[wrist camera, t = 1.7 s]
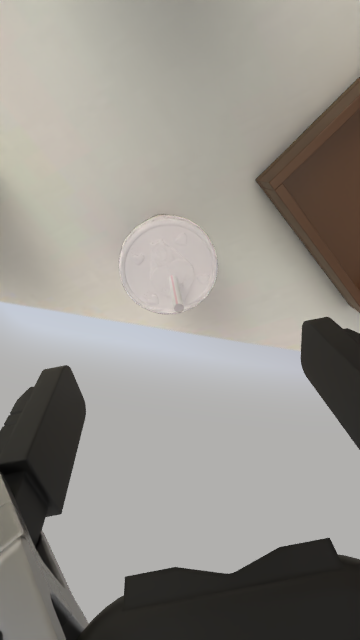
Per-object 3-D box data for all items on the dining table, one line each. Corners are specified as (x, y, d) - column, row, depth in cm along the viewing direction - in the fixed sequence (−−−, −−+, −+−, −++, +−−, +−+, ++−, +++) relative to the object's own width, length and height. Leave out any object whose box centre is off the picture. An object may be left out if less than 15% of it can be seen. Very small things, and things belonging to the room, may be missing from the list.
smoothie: (146, 279, 29) (145, 367, 17) (114, 216, 26) (84, 269, 14) (207, 252, 28) (251, 324, 16) (181, 185, 25) (213, 211, 13)
